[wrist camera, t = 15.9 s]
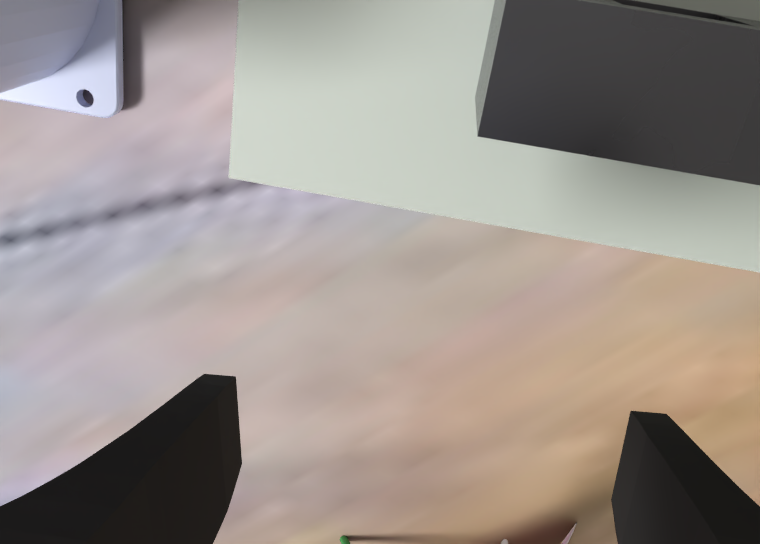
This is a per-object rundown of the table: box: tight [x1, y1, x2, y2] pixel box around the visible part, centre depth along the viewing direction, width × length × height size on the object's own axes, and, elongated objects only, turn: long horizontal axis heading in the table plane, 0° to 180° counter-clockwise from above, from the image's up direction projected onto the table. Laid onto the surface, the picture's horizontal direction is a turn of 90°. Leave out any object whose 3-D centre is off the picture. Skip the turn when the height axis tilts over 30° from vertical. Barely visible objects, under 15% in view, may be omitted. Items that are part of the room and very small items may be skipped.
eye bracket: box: [475, 0, 760, 185], centre depth 16 cm, size 8×3×4 cm, turn 82°
